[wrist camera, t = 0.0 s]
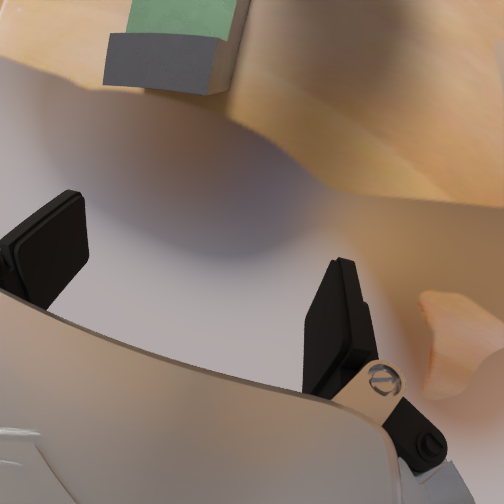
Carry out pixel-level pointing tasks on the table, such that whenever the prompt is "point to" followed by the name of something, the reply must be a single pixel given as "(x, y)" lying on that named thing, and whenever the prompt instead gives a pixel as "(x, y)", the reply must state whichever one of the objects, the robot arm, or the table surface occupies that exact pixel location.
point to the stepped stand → (177, 45)
